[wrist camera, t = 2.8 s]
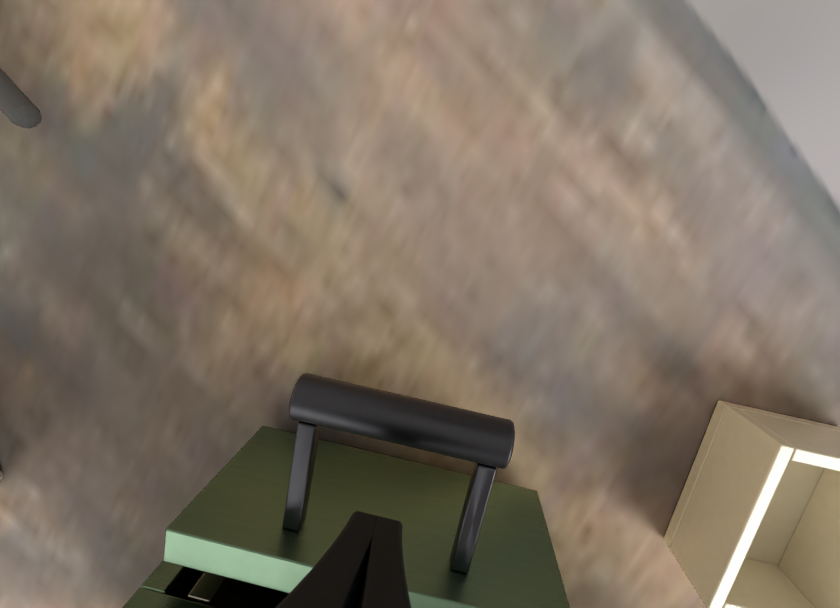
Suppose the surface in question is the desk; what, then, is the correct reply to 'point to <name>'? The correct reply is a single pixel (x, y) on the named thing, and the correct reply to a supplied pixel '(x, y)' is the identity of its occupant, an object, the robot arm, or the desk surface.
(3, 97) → the walkie-talkie
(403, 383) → the desk surface
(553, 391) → the desk surface
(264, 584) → the drawer
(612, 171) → the desk surface
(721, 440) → the open wooden box
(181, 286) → the desk surface
